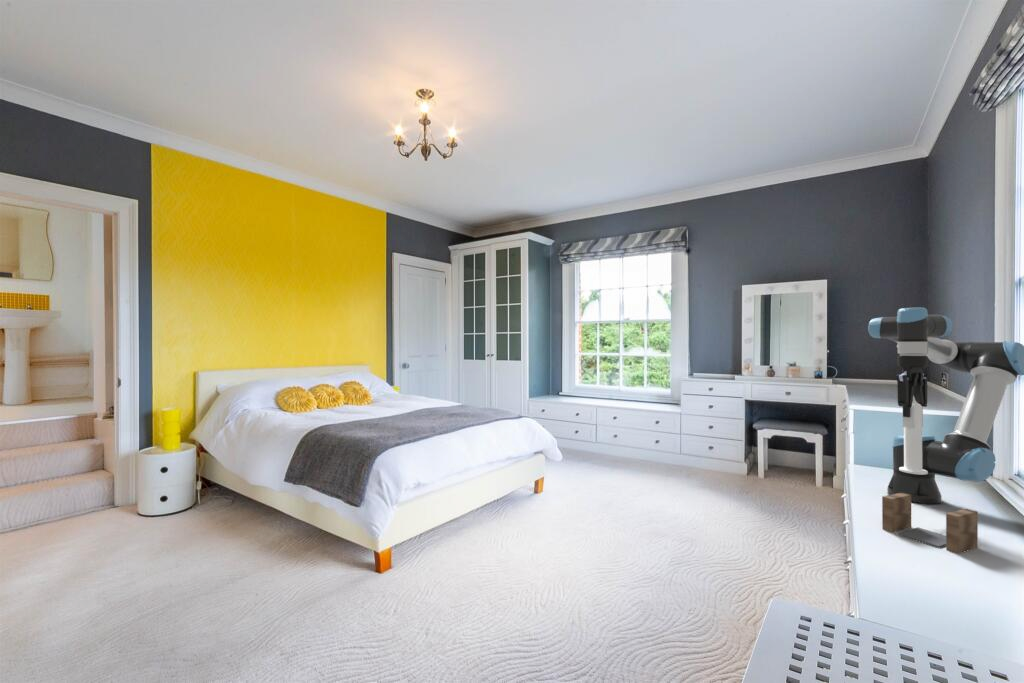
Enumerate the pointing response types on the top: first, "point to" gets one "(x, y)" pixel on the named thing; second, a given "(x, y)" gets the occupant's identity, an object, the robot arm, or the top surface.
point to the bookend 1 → (896, 512)
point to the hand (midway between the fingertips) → (912, 426)
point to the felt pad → (925, 536)
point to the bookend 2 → (961, 530)
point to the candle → (913, 444)
